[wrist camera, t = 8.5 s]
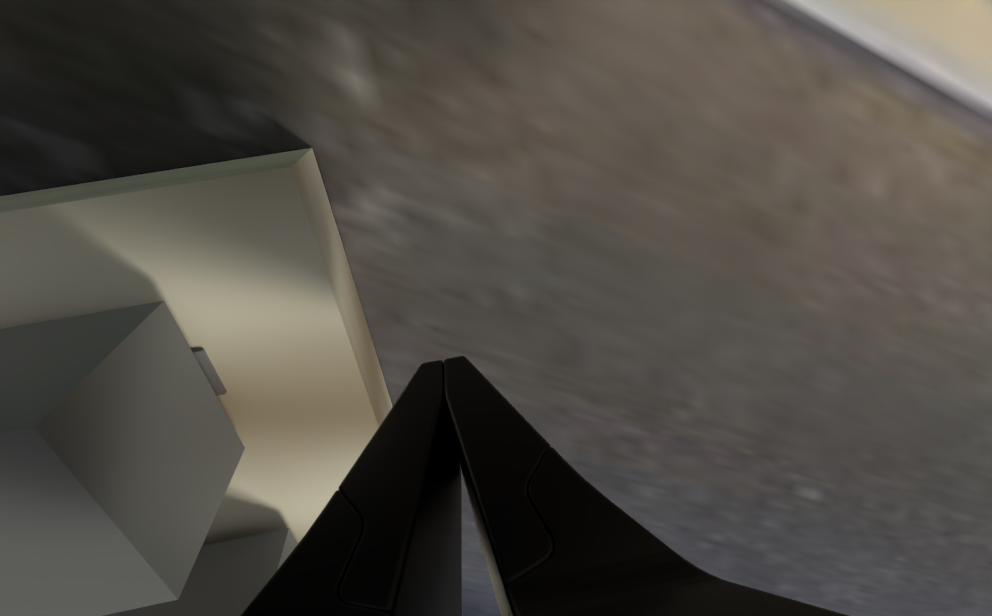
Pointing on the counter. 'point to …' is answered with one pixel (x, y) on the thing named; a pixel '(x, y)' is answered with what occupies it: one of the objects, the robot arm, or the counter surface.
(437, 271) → the counter surface
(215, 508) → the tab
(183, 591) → the tab middle
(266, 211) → the switch panel
